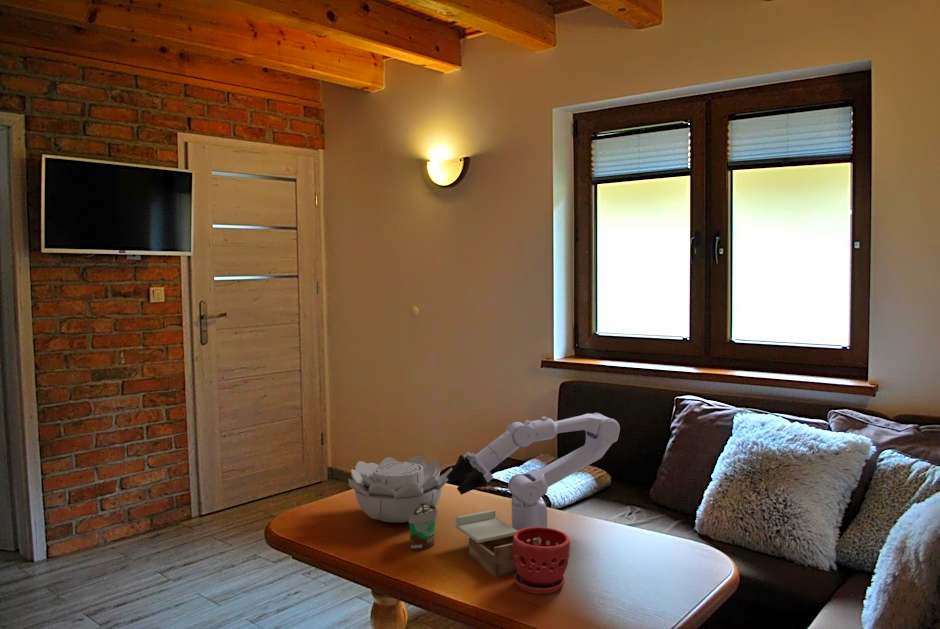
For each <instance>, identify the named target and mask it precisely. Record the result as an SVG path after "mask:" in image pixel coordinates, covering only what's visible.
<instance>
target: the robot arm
mask: <svg viewBox="0 0 940 629" xmlns="http://www.w3.org/2000/svg"><path fill="white" fill-rule="evenodd" d="M620 430H621V426H620V423H619V422H618V420H616V419H615V418H610V417H608V416H605V415H604V414H602V413H599V412H594V413H585V414H582V415H578V416H572V417H569V418H568V417H567V418H564V419H560V420H555V421H554V420H553V419H552V418H550V417H546V416H541V417H540V419H536V420H529V419H528V420H527V419H526V420H525V421H524V423H523V422H521V421H515V422H512V423H511V422H510V423H509V424H508V425H507V427H506V429H505V431H504V432H503V433H502V434H500V435H499V436H498V437H496V438H495V439H494V440H492V441H491V442H490V443H489V444H487V445H486V446H485V447H483V449H480V451H478V452H477V453H476V454H475V453H473V452H472V453H470V451H468V452H466V453H465V454H464V455H462V454H460V455H459V456H458V459H457V461H456V463H455V465H454V466H453V468H452V470H451V471H450V473H449V474H448V475H447V479H448V481H449V483H453V482H455V481H457V480H458V479H460V478H461V477H464V476H465V475H468V474H469V475H468V477H466V478H465V480H463V481H462V482H461V483H460V484H459V485H458V486H457V488H456V489H457V491H458V493H459V494H460V495H461V496H462V495H464V494H467V493H468V492H470V491H473V490H476V489H480V488H485V487H487V486H488V484H487V483H489V482H491V480H493V479H494V476H493V474H492V473H491V470H493V469H495V468H496V467H497V466H498V465H499V464H500V463H502V462H503V461H504V460H506V459H507V458H508V457H510V456H511V455H512V454H514V452H516V451H517V450H518V449H520V448H521V447H526V448H527V447H529V446H530V445H531V444H532V443H536V442H542V441H547V440H552V439H555V437H556V436H557V435H558V434H561V433H570V432H571V433H572V432H577V431H585V443H584V445H582V446H580V447H578V448H577V449H575V450H573V451H571V452H569V453H568V454H566V455H564V456H562V457H560V458H558V459H556V460H554V461H552V462H551V463H549V464H547V465H545V466H544V467H541V468H540V469H537V470H530V471H529V470H528V471H527V472H524V473H517V474H514V475H513V476H512V477H511V478H510V479H509V480H508V484H507V485H508V486H507V487H508V491H509V492H510V493H511V494H512V495H511V496H512V497H511V527H512V528H514V529H515V530H517V531H518V530H520V529H524V528H529V527H546V528H548V509H547V508H548V507H547V505H546V502H545V501H544V500H543V499H541V498H542V497H543V496H544V495H546V494H547V493H548V490H549V489H548V488H550V487H551V486H553V485H555V484H556V483H558V482H560V481H562V480H563V479H566V478H567V477H569V476H571V475H573V474H575V473H576V472H578V471H581V470H582V469H584V468H586V467H587V466H588V467H589V465H591V464H593V463H595V462H597V461H599V460H601V459H602V458H603V456H604V455H605V454H606V452H607V451H609V449H610V447H611V446H612V444H614V443H616V442H618V439H619V437H620V436H619V435H620V432H621V431H620ZM486 482H487V483H486Z"/></svg>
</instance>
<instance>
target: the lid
mask: <svg viewBox="0 0 940 629" xmlns="http://www.w3.org/2000/svg"><path fill="white" fill-rule="evenodd" d="M454 527H455V528H456V529H457V530H459V531H460V532H461V533H463V534H465V535H466V536H467V537H469V538H471V539H473V540H474V541H476V542H477V543H481V542H486V541H491V540H495V539H500V538H505V537H509V536H514V533H515V532H516V531H517V530H515V529H514V528H512V526H510V525H509V524H508V523H505V522H504V521H502V520H500V519H499V518H497V517H496V510H495V509H489V510H484V511H480V512H474V513H469V514H465V515H464V514H463V515H459V516H456V523H455V524H454Z"/></svg>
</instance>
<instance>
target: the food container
mask: <svg viewBox="0 0 940 629" xmlns="http://www.w3.org/2000/svg"><path fill="white" fill-rule="evenodd" d="M438 516H439V512H438V508H437V505H436V506H435V505H434V504H433V503H430V502H425V501H420V506H419V507H418V508H417V509H416V510H415V511H414V513H413V515H409V522H408V524H409V525H408V526H409V541H410V551H411V552H420V551H427V550H429V549H431V548H433V547H434V545H435V539H436V538H435V537H436V536H435V534H436V518H438Z"/></svg>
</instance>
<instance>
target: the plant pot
mask: <svg viewBox="0 0 940 629" xmlns="http://www.w3.org/2000/svg"><path fill="white" fill-rule="evenodd" d="M534 538H540V540H541V542H540V544H538V545H535V544H534V543H533V539H534ZM529 539H530V541H529V542H527V540H529ZM521 540H522V541H523V542H521ZM547 542H549V544H548V543H547ZM570 542H571V540H570V536H568V534H566V533H565V532H563V531H561V530H558V529H555V528H551V527H547V528H546V527H529V528H524V529H520V530H518V531H516V532H515V533H514V536H513V558H514V563H515V567H516V570H517V573H514V582H515V583H516V585H517V586H518V587H519V589H522V590H523V591H525V592H529V593H531V594H532V593H533V594H537V595H538V594H540V595H542V594H543V595H544V594H545V595H546V594H551V593H555V592H557V591H559V590H560V589H561V588H562V587H563V586H564V584H565V581H566V580H565V579H566V578H565V577H564V574H565V572H566V570H567V567H568V563H569V557H570V546H571V545H570V544H571V543H570Z"/></svg>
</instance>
